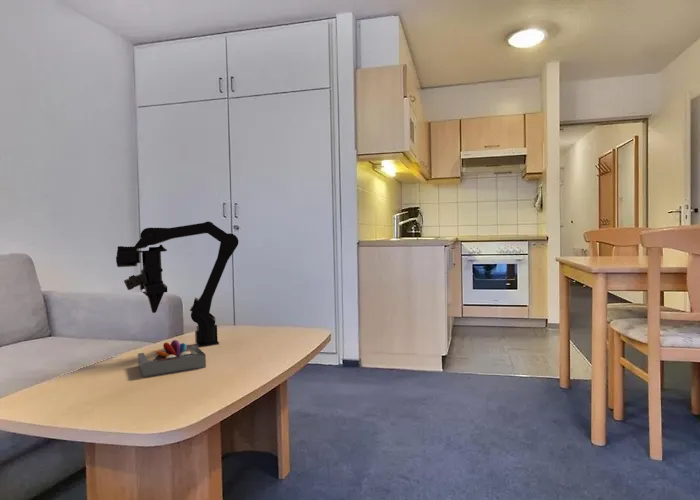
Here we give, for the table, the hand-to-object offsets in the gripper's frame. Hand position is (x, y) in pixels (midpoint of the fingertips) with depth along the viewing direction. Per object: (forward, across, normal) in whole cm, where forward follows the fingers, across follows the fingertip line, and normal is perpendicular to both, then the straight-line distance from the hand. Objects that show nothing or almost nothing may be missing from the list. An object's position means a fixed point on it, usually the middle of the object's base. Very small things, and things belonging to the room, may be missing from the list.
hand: (154, 312), depth 152 cm
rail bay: (+12, +27, +1) cm, 30 cm away
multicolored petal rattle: (+12, +26, +1) cm, 29 cm away
